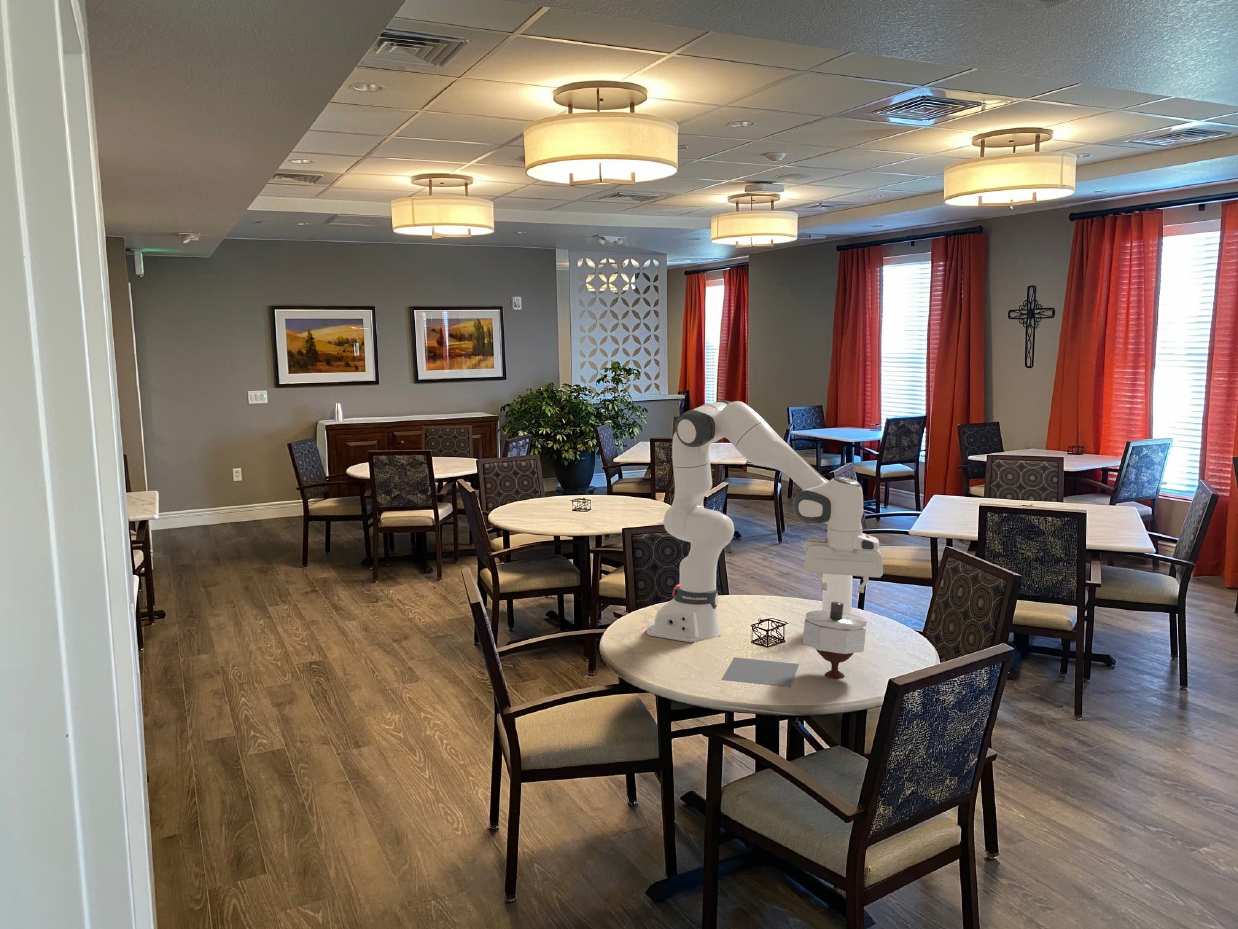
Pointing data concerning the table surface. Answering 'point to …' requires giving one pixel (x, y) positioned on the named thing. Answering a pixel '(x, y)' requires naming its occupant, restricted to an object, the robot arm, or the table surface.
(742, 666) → the mat
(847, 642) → the cover
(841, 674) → the ice cream bowl
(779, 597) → the table surface
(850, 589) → the alcohol
